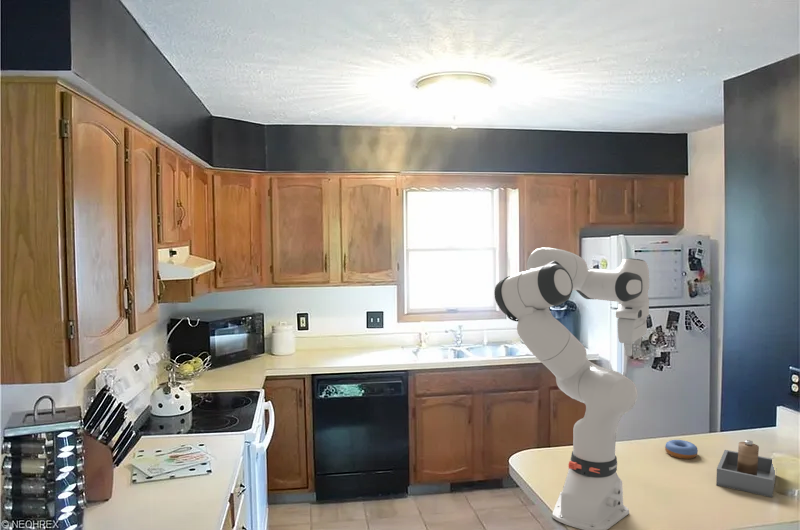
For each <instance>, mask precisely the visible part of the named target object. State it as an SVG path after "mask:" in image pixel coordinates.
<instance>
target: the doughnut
mask: <svg viewBox="0 0 800 530" xmlns="http://www.w3.org/2000/svg"><path fill="white" fill-rule="evenodd" d="M664 448H665V449H664V451H665V452H666V453H667V454H668V455H669V456H672V457H674V458H676V459H677V458H678V459H682V458H683V459H682V460H689V459H690V460H691V459H694V458H695V457H696V456H697V455H698V451H699V450H698V447H697V445H695V444H694V443H692V442H691V441H688V440H683V439H671V440H668V441H666V443H665V446H664Z"/></svg>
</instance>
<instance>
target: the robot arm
mask: <svg viewBox="0 0 800 530" xmlns="http://www.w3.org/2000/svg"><path fill="white" fill-rule="evenodd" d="M649 272H650V271H649V265H648V262H647V261H645V260H644V259H639V258H632V257H631V258H630V257H629V258H628V257H627V258H623V259H621V263H620V265H619V266H618V267H616V268H615V269H602V268H601V269H600V268H594V267H588V264H587V262H586V260H585V259H584V258H583V257H581V256H579V255H578V254H575V252H571V251H568V250H565V249H559V248H554V247H538V248H536V249H535V250H533V251H532V252H531V253H530V255H529V256H528V258H527V262H526V270H523V271H519V272H518V273H515V274H513V275H511V276H510V275H509V276H505V277H504V278H503V279H500V281H499V282H497V284H496V285H495V287H494V300H495V302H496V305H497V307H498V308H499V309H500V311H501V312H502V313H503V314H504V315H506V317H507V319H509V320H511V321H513V322H517V325H516V330H517V334H518V336H519V338H520V339H521V341H522V342H523V344H524V346H525V347H526V348H527V349H528V350H529V351H530V352H531V353H532V354H533V356H535V358H536V359H538V361H539V362H541V364H543V366H545V368H547V370H549V371H550V372H551V373H552V374H553V376H555V382H556V385H557V387H558V390H560V391H561V392H562V393H564V394H565V395H566V396H568V397H570V398H571V399H572V400H575V401H577V402H580V403H583V404H584V405H585V413H584V416H583V418H580V419H578V420H577V421H576V422H575V423H574V424H573V430H572V431H573V433H572V434H573V435H572V436H573V437H572V438H573V442H572V445H573V447H572V451H571V456H570V460H569V461H568V466H567V467H568V472H567V475H566V478H565V482H564V485H563V487H562V491H560V492H559V494H558V498H557V500H556V502H555V505H554V508H553V510H552V512H551V518H553V519H554V520H556V521H557V522H559V523H562V524H564V525H566V526H569V527H573V528H575V529H579V530H609V529H610V528H611V527H612V526H614V525H616V524H618V522H620V521H621V520H623V518H625V517H626V516H627V515H629V514H630V509H629V508H628V507H627V506H626V505H624V494H623V493H624V491H623V480H622V479H621V478H620V477H619V475H618V473H617V471H618V459H617V455H616V441H617V440H616V439H617V437H616V436H617V430H618V426H619V423H620V421H621V419H622V418H623V416H624V415H625V414H627V413H629V412H630V411H631V410H632V409H633V408H634V407H635V406H636V403H637V400H638V388H637V385H636V384H635V383H634V381H633V380H632V379H630V378H628V377H627V376H625V375H624V374H622V373H620V372H619V371H616V370H612V369H609V368H606V367H602V366H600V365H598V364H595V363H593V362H592V361H590V360H589V359H588V358H587V349H586V347H585V346H584V344H582V342H580V340H579V339H578V338H577V337H576V336H575V335H574V334H573V333H572V332H571V331H570V330H569V329H568V328H567V327H566V326H565V325H564V324H563V323H561V322H560V320H558V319H557V318H556V317H554V315H553V314H552V312H551V309H550V308H551V307H554V306H556V307H557V306H560V305H562V304H564V303H565V302H566V301H568V300H569V299H571V295H572V293H573V291H576V292H577V293H578V294H579V295H580V297H582V298H584V299H586V300H598V301H608V302H618V306H617V309H616V312H615V317H616V318H617V338H618V342H619V343H621V344H623V345H624V346H623V347H624V350H625V352H624V353H625V355H624V356H626V357H632V356H633V355H634V354H633V352H634V351H636V352H639V351H640V350H641V344H642V339H643V337H644V336H645V335H646V334H647V329H648V328H647V317H648V316H649V315H650V308H649V307H650V298H649V294H648V293H649V289H650V273H649Z"/></svg>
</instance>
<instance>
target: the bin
mask: <svg viewBox="0 0 800 530" xmlns="http://www.w3.org/2000/svg"><path fill="white" fill-rule="evenodd" d="M772 459H773V458H770V457H766V456H762V455H761V456H760V455H758V468H757V476H756V475H751V474H746V473H741V472H737V463H738V451H734V450H728V449H724V451H723V453H722V456H721V458H720V460H719V463H718V465H717V467H716V483H715V484H716V486H719V487H724V488H728V489H732V490H738V491H740V492H741V491H742V492H747V493H751V494H756V495H759V496H764V497H769V498H773V495H774V490H775V485H774V484H775V483H776V479H775V470H774V467H773V464H772Z"/></svg>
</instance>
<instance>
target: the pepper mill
mask: <svg viewBox="0 0 800 530" xmlns="http://www.w3.org/2000/svg"><path fill="white" fill-rule="evenodd" d="M759 449H760V446H759V445H758V444H756V443H754V442H753V440H750V439H746V440H744V441H740V442H738V449H737V452H738V463H737V472H741V473H746V474H751V475H756V476H757V468H758V456H759Z"/></svg>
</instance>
